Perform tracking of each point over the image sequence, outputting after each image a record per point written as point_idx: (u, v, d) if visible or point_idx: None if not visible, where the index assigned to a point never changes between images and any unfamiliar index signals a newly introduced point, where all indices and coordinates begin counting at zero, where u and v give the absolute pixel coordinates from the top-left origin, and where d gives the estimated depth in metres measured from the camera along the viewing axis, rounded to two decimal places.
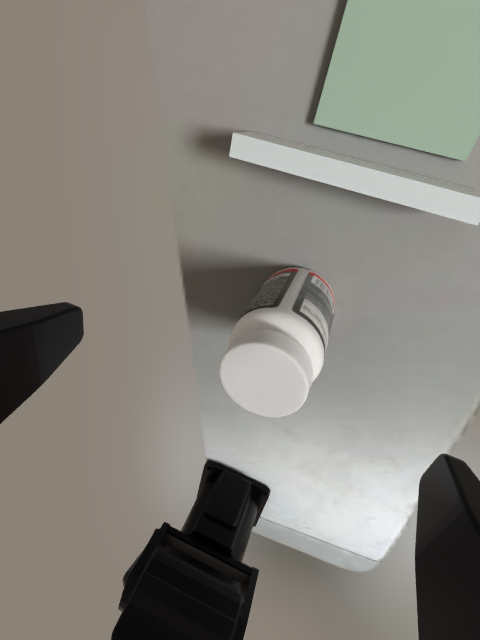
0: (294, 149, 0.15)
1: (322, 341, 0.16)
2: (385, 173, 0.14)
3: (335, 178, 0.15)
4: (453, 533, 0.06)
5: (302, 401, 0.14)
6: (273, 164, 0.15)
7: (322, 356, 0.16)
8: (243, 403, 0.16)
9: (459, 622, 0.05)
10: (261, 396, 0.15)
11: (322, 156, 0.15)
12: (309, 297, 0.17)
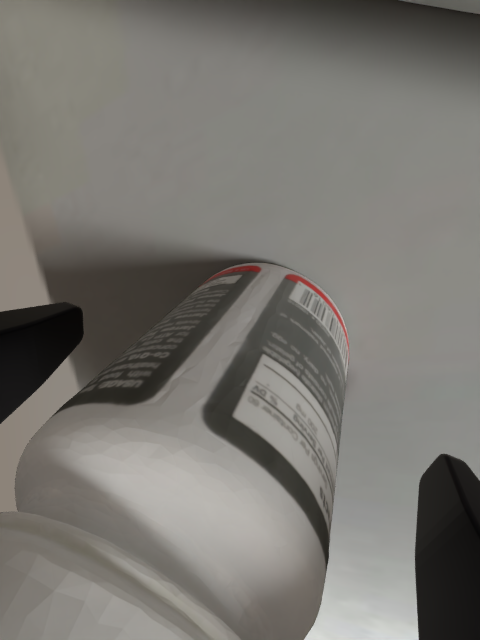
0: None
1: (319, 531, 0.04)
2: None
3: None
4: (453, 533, 0.06)
5: None
6: None
7: (319, 595, 0.04)
8: None
9: (459, 622, 0.05)
10: None
11: None
12: (278, 350, 0.06)
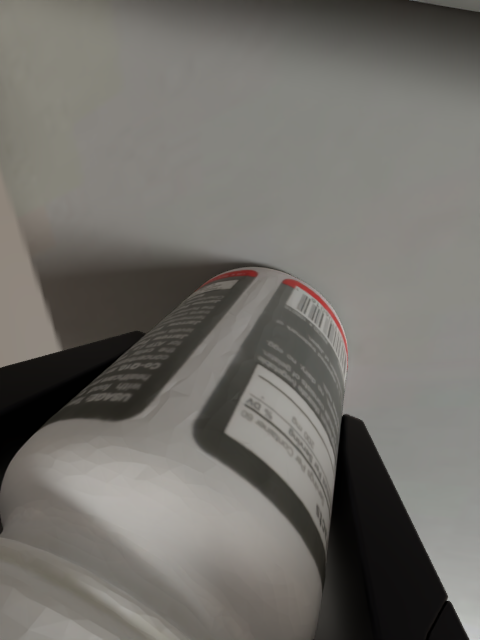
0: None
1: (315, 553, 0.04)
2: None
3: None
4: None
5: None
6: None
7: (315, 620, 0.04)
8: None
9: None
10: None
11: None
12: (274, 360, 0.05)
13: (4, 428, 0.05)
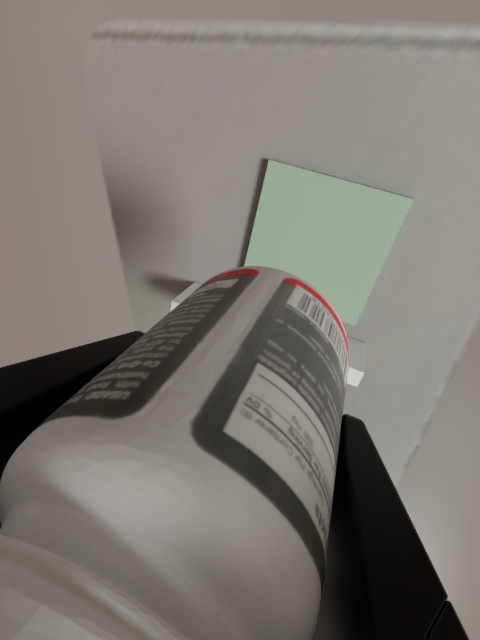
0: None
1: (314, 553, 0.04)
2: None
3: None
4: None
5: None
6: None
7: (313, 620, 0.04)
8: None
9: None
10: None
11: None
12: (274, 359, 0.05)
13: (5, 428, 0.05)
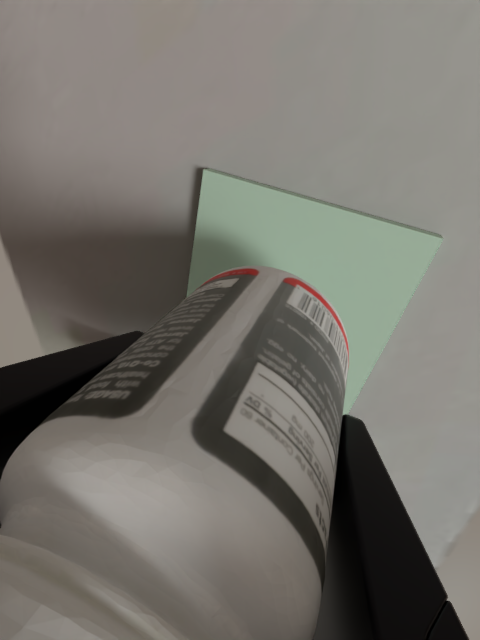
0: None
1: (314, 552, 0.04)
2: None
3: None
4: None
5: None
6: None
7: (314, 620, 0.04)
8: None
9: None
10: None
11: None
12: (274, 359, 0.05)
13: (4, 428, 0.05)
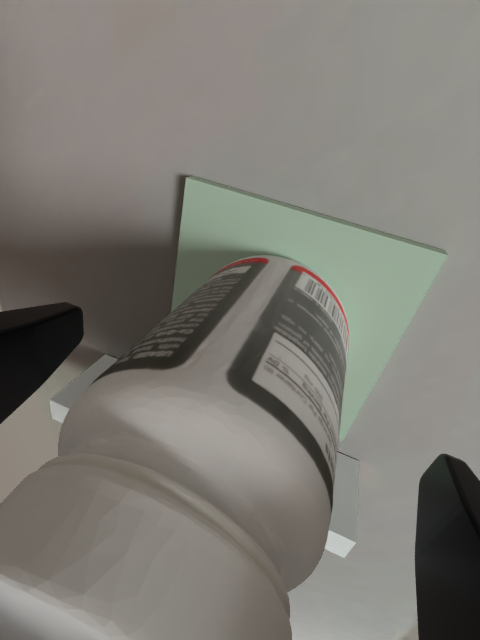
0: None
1: (325, 478, 0.05)
2: None
3: None
4: (453, 533, 0.06)
5: None
6: None
7: (325, 531, 0.05)
8: None
9: (459, 622, 0.05)
10: None
11: None
12: (287, 330, 0.06)
13: None
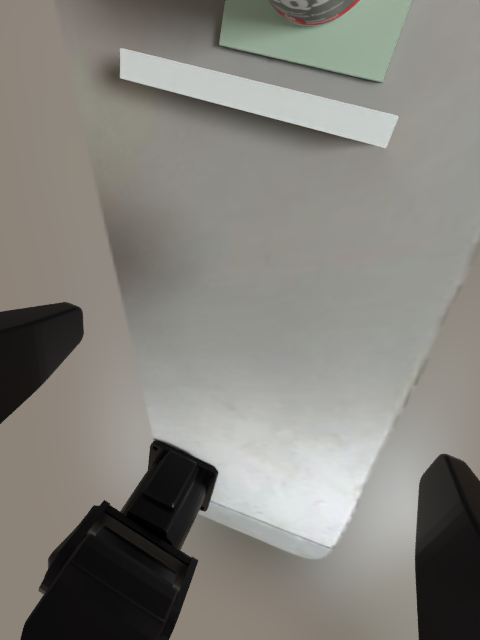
0: (185, 64, 0.13)
1: None
2: (283, 88, 0.12)
3: (232, 98, 0.13)
4: (453, 533, 0.06)
5: None
6: (166, 84, 0.14)
7: None
8: None
9: (459, 622, 0.05)
10: None
11: (215, 71, 0.13)
12: None
13: None
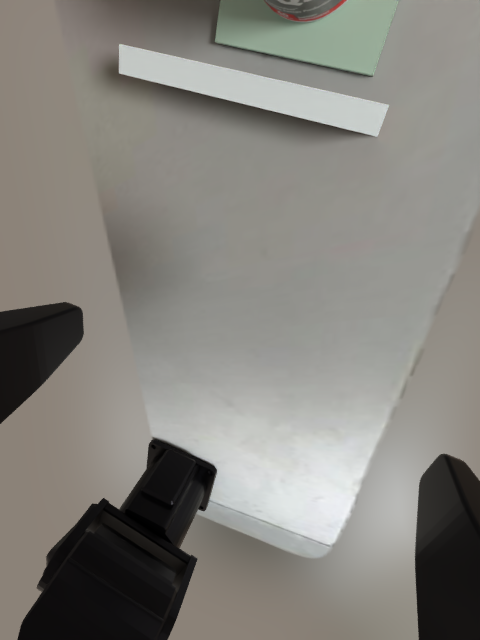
0: (182, 59, 0.13)
1: None
2: (277, 80, 0.13)
3: (227, 90, 0.13)
4: (453, 533, 0.06)
5: None
6: (163, 79, 0.14)
7: None
8: None
9: (459, 622, 0.05)
10: None
11: (212, 65, 0.13)
12: None
13: None
